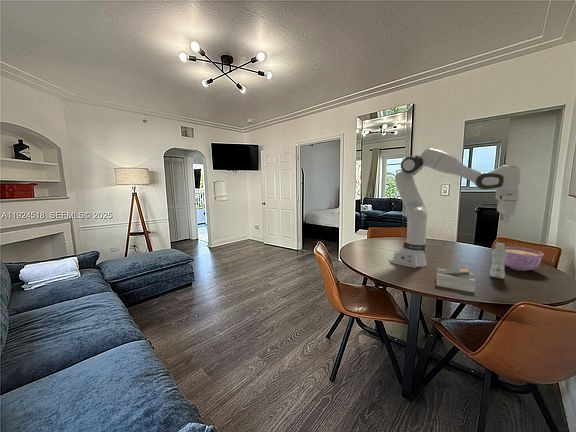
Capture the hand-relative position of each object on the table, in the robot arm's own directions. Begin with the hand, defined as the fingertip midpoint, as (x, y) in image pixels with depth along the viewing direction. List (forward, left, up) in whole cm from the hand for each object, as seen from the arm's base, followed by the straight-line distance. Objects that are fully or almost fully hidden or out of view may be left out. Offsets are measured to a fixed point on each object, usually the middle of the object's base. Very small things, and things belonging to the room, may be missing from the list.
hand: (503, 221), depth 128 cm
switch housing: (-21, -21, -33) cm, 44 cm away
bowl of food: (+14, +28, -33) cm, 46 cm away
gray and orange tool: (-21, -21, -27) cm, 40 cm away
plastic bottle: (0, +3, -33) cm, 33 cm away
